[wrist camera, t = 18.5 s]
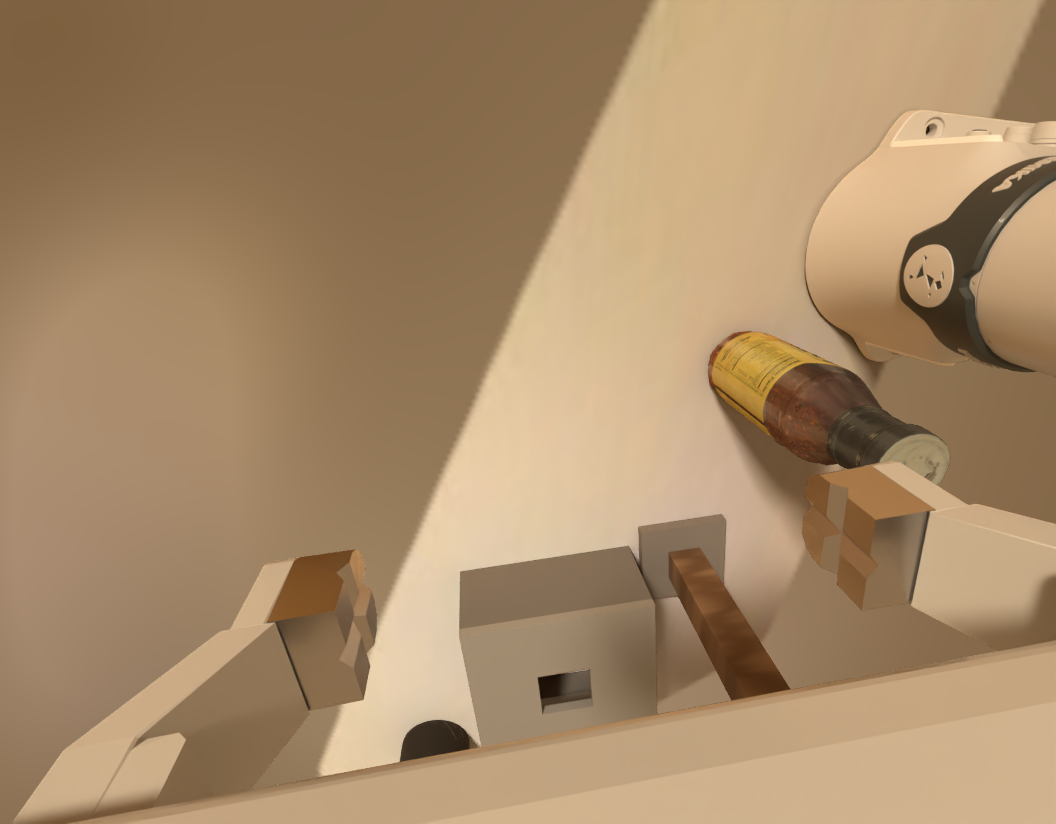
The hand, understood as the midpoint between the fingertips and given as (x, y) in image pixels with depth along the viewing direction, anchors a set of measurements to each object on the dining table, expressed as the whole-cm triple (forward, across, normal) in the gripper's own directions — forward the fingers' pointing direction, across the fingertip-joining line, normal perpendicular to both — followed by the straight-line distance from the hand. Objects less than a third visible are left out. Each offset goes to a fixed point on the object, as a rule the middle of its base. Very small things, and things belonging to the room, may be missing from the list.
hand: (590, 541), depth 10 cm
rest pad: (+34, -14, +29) cm, 47 cm away
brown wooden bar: (+33, -14, +29) cm, 46 cm away
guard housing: (+34, -1, +35) cm, 49 cm away
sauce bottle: (+34, -19, +10) cm, 40 cm away
